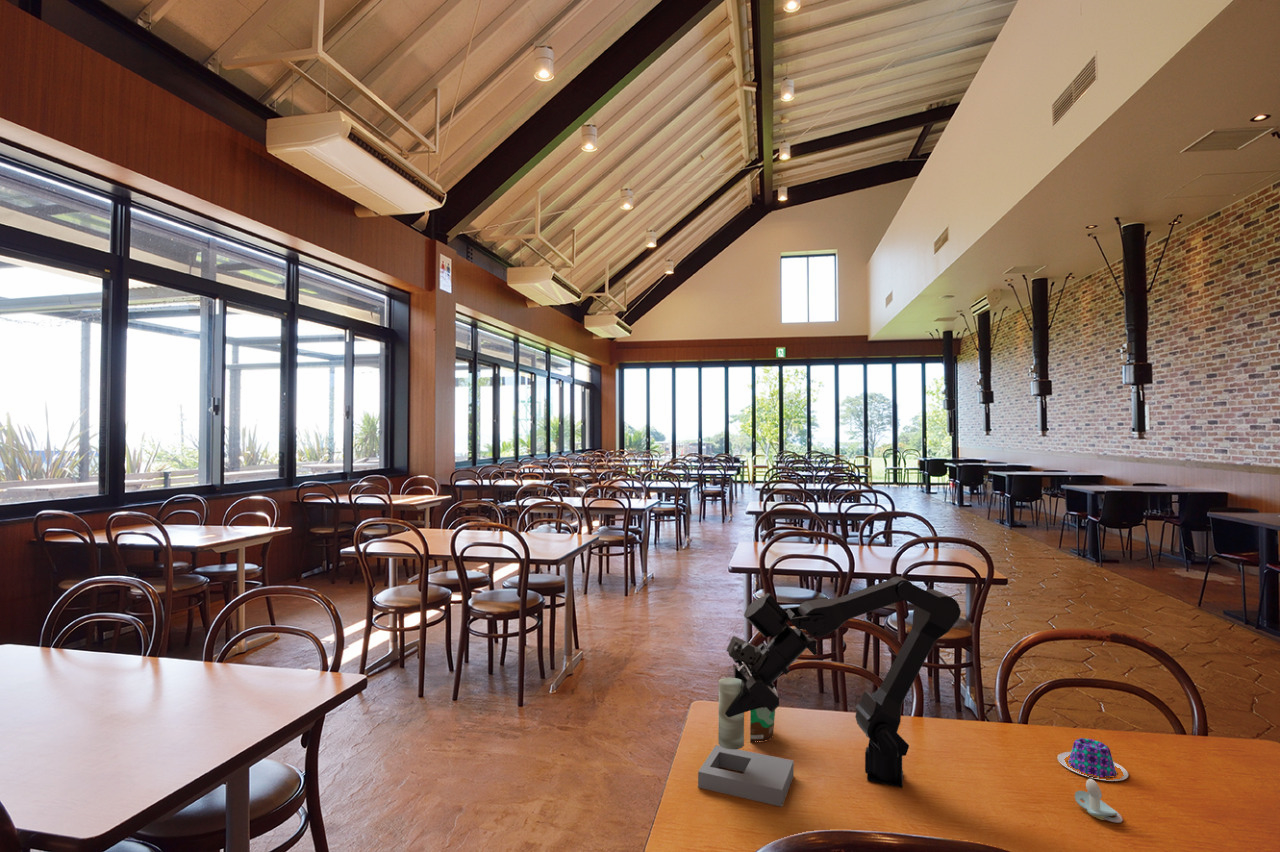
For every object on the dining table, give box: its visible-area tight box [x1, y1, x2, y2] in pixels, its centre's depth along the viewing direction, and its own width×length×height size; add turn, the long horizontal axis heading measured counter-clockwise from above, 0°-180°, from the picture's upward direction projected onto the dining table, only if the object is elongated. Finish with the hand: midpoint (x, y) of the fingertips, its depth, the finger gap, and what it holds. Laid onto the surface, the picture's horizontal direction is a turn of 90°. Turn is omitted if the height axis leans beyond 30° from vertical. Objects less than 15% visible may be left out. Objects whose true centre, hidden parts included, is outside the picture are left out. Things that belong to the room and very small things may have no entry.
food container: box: [749, 687, 779, 743], centre depth 147 cm, size 12×6×10 cm, turn 168°
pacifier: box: [1074, 778, 1124, 824], centre depth 117 cm, size 7×6×6 cm
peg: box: [717, 677, 745, 750], centre depth 128 cm, size 5×5×12 cm
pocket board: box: [697, 744, 795, 808], centre depth 126 cm, size 16×12×3 cm
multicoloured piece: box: [1057, 737, 1129, 782], centre depth 134 cm, size 12×12×5 cm
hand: (724, 709), depth 128 cm, fingers closed on peg, 5 cm apart
